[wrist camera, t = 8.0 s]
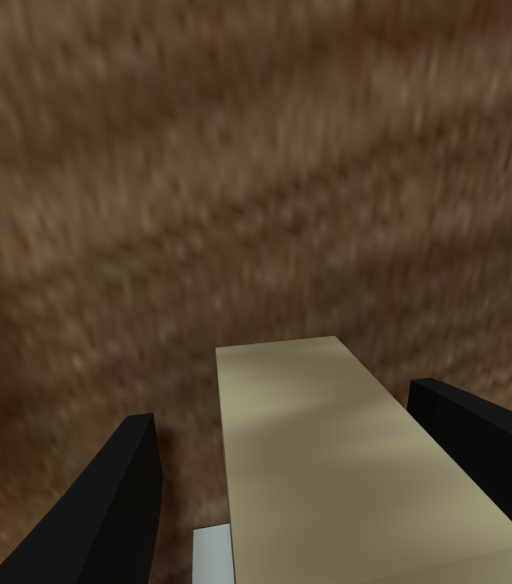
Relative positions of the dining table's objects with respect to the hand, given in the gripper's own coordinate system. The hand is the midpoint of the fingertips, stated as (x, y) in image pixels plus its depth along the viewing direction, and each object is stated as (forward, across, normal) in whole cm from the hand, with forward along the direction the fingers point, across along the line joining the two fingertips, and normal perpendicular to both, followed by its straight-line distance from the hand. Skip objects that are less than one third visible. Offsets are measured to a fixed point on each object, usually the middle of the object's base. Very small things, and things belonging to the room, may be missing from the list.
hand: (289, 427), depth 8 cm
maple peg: (+2, 0, 0) cm, 2 cm away
